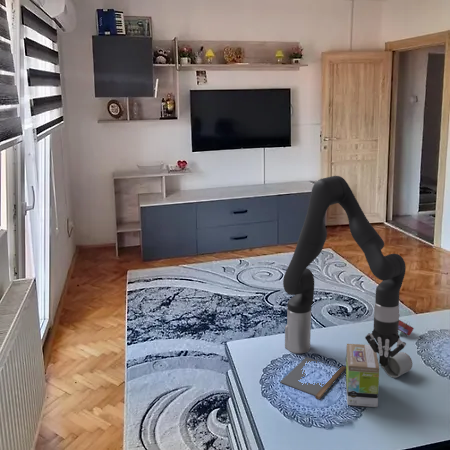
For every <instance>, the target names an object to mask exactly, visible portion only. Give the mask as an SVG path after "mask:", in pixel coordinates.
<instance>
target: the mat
mask: <svg viewBox="0 0 450 450" xmlns="http://www.w3.org/2000/svg"><path fill="white" fill-rule="evenodd" d="M306 361H307V363H308V362H309V361H310V362H311V361H316V363H317V361H319V360H316V359H314V358H310V357H308V356H306V357H304V359H302V361H300V362H299V363H298V364H297V365H296V366H295V367H294V368H293V369H292V370H291V371H290V372H288V373H287V375H285V376H284V377H283V378H282V380H279V383H280V384H282V385H285V386H288V387H290V388H293V389H296V390H298V391H301V392H304V393H306V394H309V395H311V396H313V397H315V395H316V394H317V393H318V392H319V391H320V390H321V389H322V388H323V387H321V386H320V385H321V383H320V385H319V383H317V384H316V383H315V385H313V384H314V383H313V384H310V383H308V385H307V383H306V384H305V383H304V384H303V383H301V382H299V381H298V380H300V379H302V378H301V377H303V376H304V377H305V375H306V374H305V373H304V372H305V370H304V372H303V374H302V371H303V369H302V368H303V366H305V363H306ZM319 362H322V361H319ZM322 363H324V362H322ZM330 365H331V366H333V365H332V364H330ZM336 367H337V366H336ZM337 368H339V367H337ZM301 369H302V370H301ZM304 374H305V375H304ZM302 384H303V385H302ZM323 385H324V384H322V386H323Z"/></svg>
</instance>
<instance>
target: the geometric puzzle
mask: <svg viewBox="0 0 450 450" xmlns="http://www.w3.org/2000/svg"><path fill="white" fill-rule="evenodd" d="M408 323H409V324H408ZM414 329H415V327H413V326H411V325H410V322H405V321H402V320H401V319H399V328H398V334H400V333H401V334H402V333H403V335H405V336H407V337H410V336H411V334H412V332H413V331H414ZM401 334H400V337H402V336H403V335H401Z"/></svg>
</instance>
